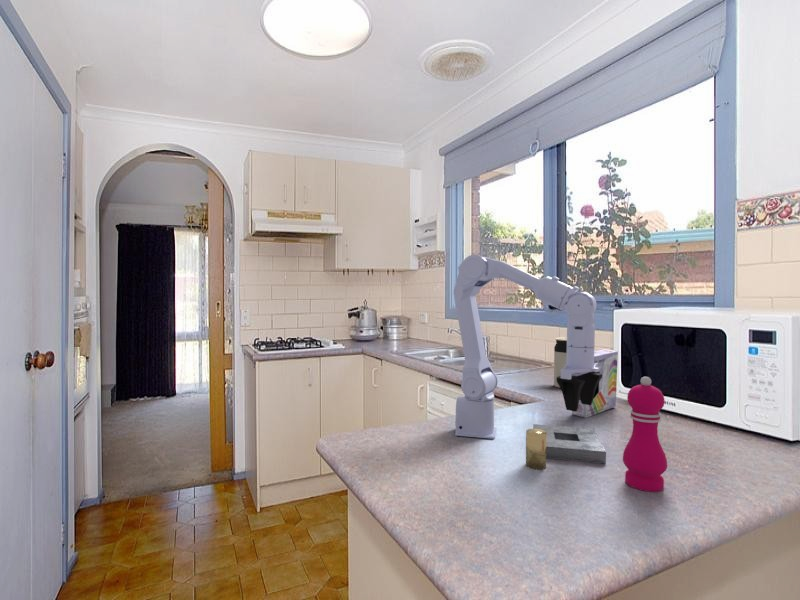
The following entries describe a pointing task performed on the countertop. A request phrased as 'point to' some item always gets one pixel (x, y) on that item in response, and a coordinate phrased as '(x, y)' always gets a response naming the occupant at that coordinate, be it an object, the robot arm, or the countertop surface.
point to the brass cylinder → (536, 448)
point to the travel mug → (559, 357)
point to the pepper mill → (645, 439)
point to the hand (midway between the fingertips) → (579, 407)
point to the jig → (573, 444)
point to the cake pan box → (602, 385)
